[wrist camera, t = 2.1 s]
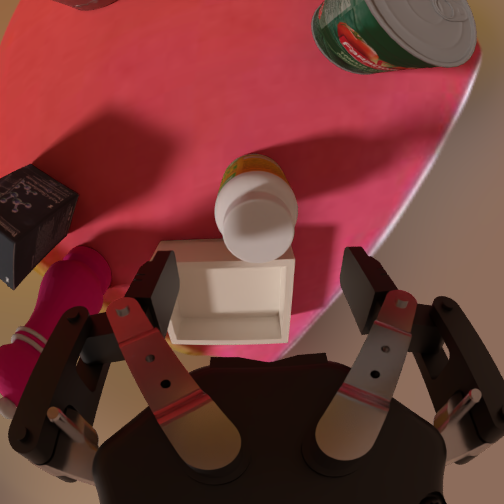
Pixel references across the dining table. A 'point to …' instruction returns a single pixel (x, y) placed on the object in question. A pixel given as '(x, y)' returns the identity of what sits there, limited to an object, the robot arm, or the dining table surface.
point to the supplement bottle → (256, 209)
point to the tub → (229, 295)
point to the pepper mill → (51, 317)
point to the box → (31, 220)
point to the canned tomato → (394, 34)
